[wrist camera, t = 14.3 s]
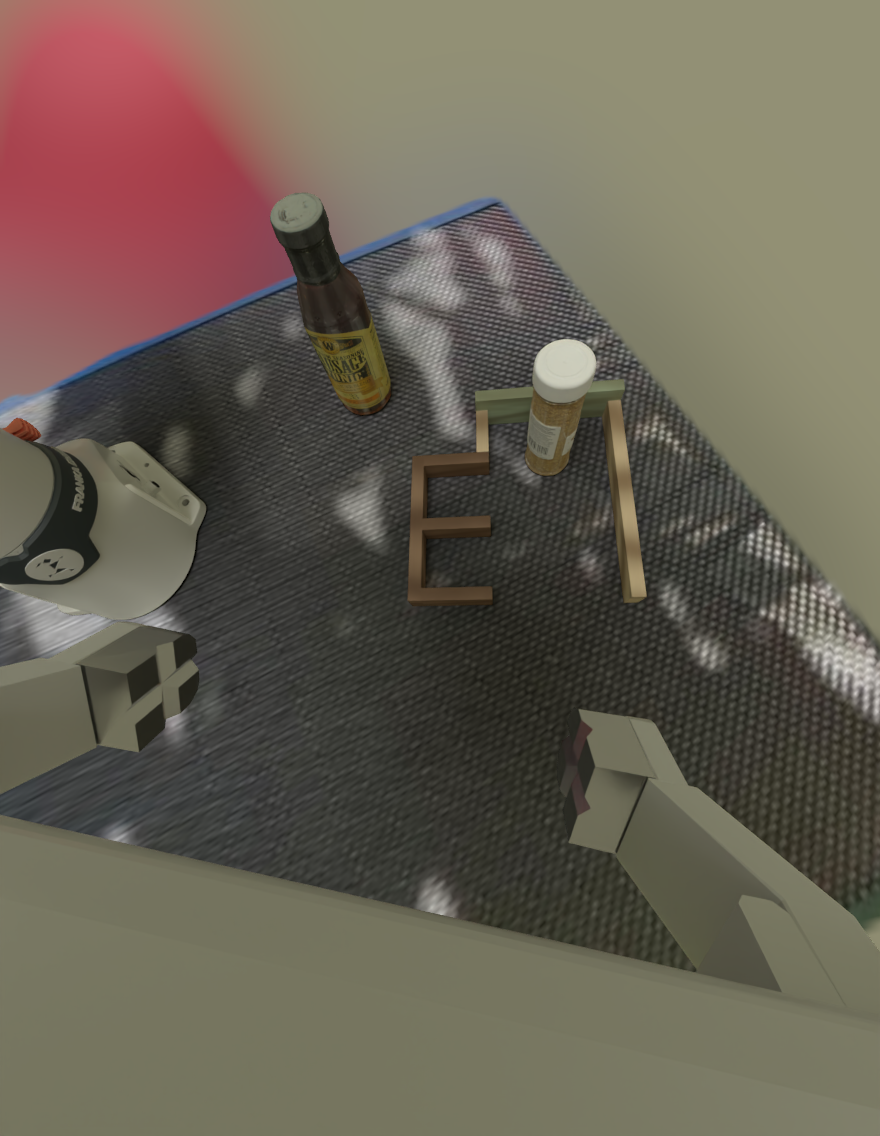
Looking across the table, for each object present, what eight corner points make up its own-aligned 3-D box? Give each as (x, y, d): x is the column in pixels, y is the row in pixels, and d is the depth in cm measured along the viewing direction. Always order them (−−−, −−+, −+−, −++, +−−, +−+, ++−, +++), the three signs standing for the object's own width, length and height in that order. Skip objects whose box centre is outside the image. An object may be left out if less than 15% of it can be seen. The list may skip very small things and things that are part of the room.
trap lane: (637, 602, 38) (652, 592, 34) (413, 606, 41) (404, 597, 37) (612, 406, 44) (623, 379, 40) (418, 420, 47) (411, 396, 43)
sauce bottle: (336, 415, 49) (233, 241, 30) (351, 371, 50) (262, 179, 31) (388, 422, 47) (316, 244, 29) (402, 377, 49) (342, 180, 30)
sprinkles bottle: (576, 465, 43) (610, 368, 30) (537, 484, 43) (553, 396, 30) (554, 432, 44) (576, 326, 32) (515, 450, 44) (523, 353, 31)
